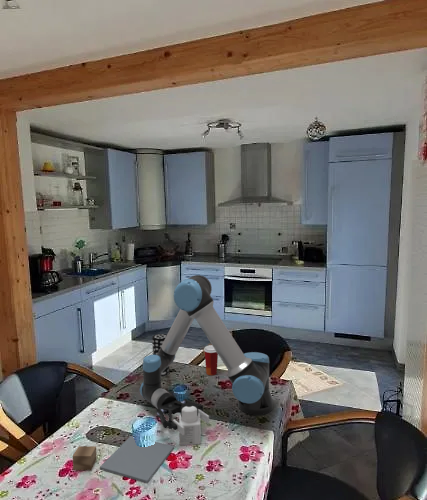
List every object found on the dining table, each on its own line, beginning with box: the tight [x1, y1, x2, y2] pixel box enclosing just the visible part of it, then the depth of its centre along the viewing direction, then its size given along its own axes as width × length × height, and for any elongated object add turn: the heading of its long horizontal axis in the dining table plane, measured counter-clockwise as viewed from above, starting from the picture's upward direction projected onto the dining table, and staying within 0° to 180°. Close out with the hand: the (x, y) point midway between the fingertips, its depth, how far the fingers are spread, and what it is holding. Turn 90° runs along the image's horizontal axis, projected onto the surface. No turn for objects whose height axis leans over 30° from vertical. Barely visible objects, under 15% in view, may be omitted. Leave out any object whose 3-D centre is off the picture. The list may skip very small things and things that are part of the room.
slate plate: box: [99, 435, 175, 484], centre depth 123 cm, size 18×18×1 cm
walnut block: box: [72, 445, 98, 471], centre depth 120 cm, size 6×5×5 cm
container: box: [178, 401, 202, 446], centre depth 133 cm, size 8×8×13 cm
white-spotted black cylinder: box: [151, 333, 170, 378], centre depth 189 cm, size 8×8×20 cm
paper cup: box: [203, 344, 219, 376], centre depth 189 cm, size 8×8×14 cm
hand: (196, 425), depth 130 cm, fingers closed on container, 10 cm apart
